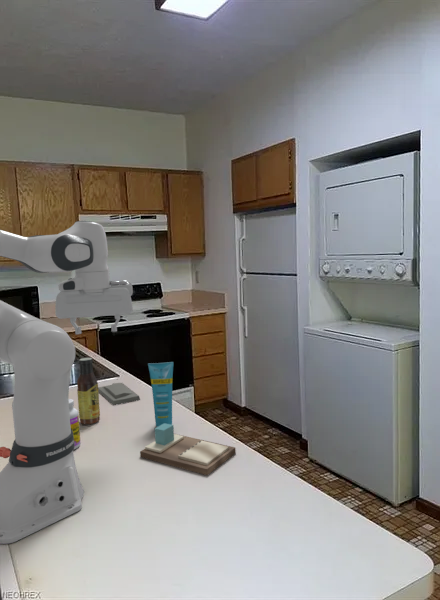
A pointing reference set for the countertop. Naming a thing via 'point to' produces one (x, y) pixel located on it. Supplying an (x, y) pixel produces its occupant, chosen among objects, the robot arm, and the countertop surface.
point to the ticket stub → (164, 438)
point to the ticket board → (192, 455)
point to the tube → (162, 391)
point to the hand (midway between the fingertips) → (96, 332)
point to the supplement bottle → (74, 423)
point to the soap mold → (118, 393)
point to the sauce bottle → (88, 393)
